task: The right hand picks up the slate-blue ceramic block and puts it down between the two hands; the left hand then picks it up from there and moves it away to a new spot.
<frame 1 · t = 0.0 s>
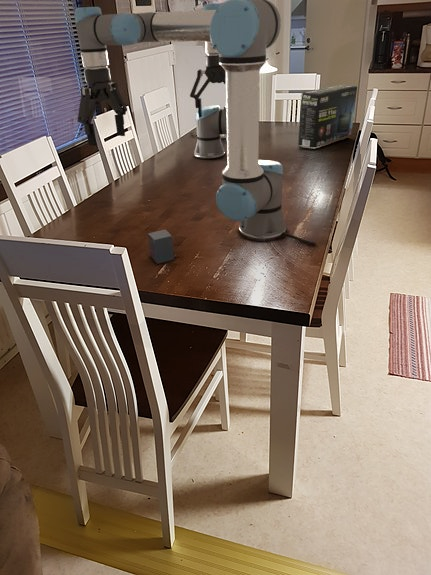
left hand: (217, 117, 174), 28 cm above the table, tool pointing down, fingers open, 13 cm apart
right hand: (107, 140, 148), 28 cm above the table, tool pointing down, fingers open, 13 cm apart
fossil: (232, 138, 262), on the table
block: (162, 258, 136), on the table
router box: (325, 143, 245), on the table
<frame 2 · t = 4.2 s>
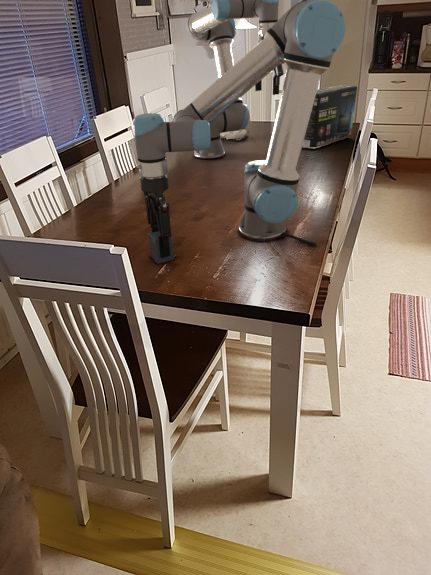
left hand: (266, 92, 193), 32 cm above the table, tool pointing down, fingers open, 13 cm apart
right hand: (161, 252, 135), 2 cm above the table, tool pointing down, fingers closed on block, 5 cm apart
block: (162, 258, 136), on the table, touching right hand
everything else where it was.
when the right hand's fingers open (3 cm above the table, at t = 16.4 s): block drops 1 cm, on the table.
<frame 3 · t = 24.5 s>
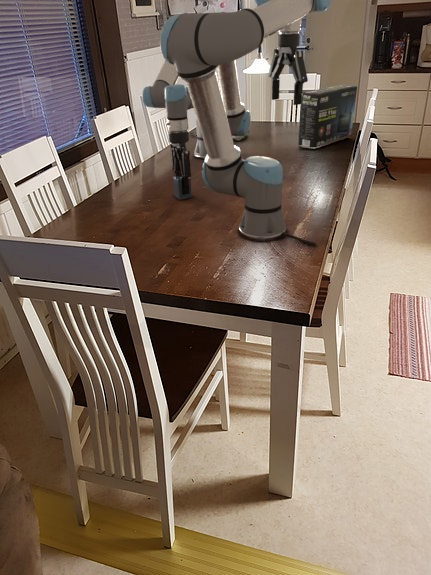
left hand: (182, 191, 180), 2 cm above the table, tool pointing down, fingers closed on block, 5 cm apart
right hand: (286, 102, 162), 34 cm above the table, tool pointing down, fingers open, 13 cm apart
block: (183, 196, 181), on the table, touching left hand
everything else where it was.
when the left hand's fingers open (3 cm above the table, at t = 35.8 s): block drops 1 cm, on the table.
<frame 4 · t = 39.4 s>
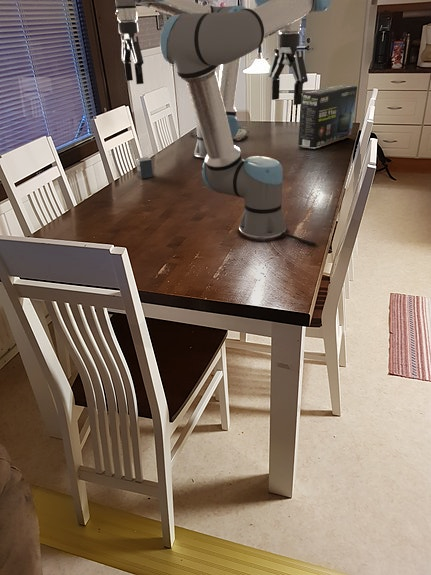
left hand: (134, 82, 186), 39 cm above the table, tool pointing down, fingers open, 13 cm apart
right hand: (286, 102, 162), 34 cm above the table, tool pointing down, fingers open, 13 cm apart
block: (145, 176, 206), on the table
everything else where it was.
at the end: block inside the target area (0.0 cm from its centre), on the table; block tilted 0°; the two hands never held the block at the same time; the left hand is holding nothing; the right hand is holding nothing; block at rest at the end (0.0 cm/s) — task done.
